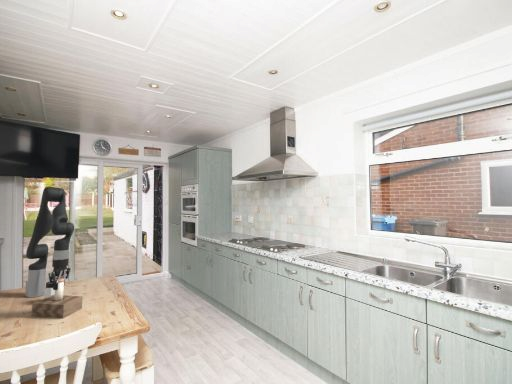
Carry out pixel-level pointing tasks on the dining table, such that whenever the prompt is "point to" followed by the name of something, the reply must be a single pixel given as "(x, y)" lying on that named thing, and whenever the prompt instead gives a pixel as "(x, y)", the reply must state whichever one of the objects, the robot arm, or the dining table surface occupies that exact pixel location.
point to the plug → (59, 290)
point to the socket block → (56, 307)
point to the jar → (49, 290)
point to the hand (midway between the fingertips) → (58, 288)
